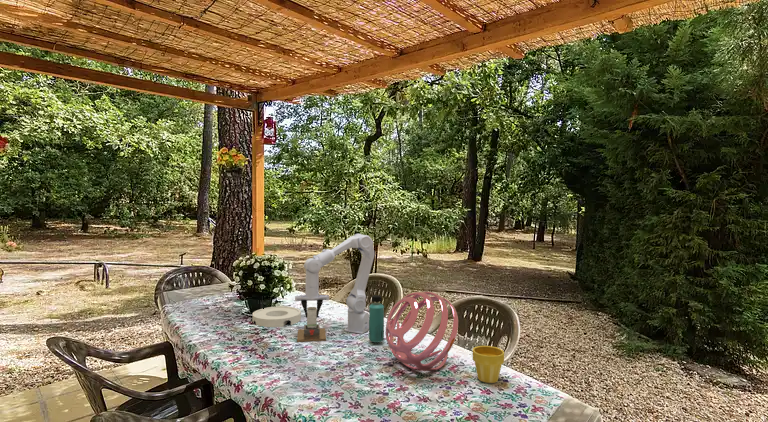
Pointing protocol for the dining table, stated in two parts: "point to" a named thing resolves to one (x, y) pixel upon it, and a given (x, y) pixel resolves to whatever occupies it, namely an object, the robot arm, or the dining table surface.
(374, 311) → the beverage bottle
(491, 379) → the plant pot
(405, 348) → the spiral basket
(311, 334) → the stand base
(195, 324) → the dining table surface
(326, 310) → the dining table surface
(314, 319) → the grayish brown rectangular block
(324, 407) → the dining table surface
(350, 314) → the robot arm
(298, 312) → the ashtray
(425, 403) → the dining table surface
